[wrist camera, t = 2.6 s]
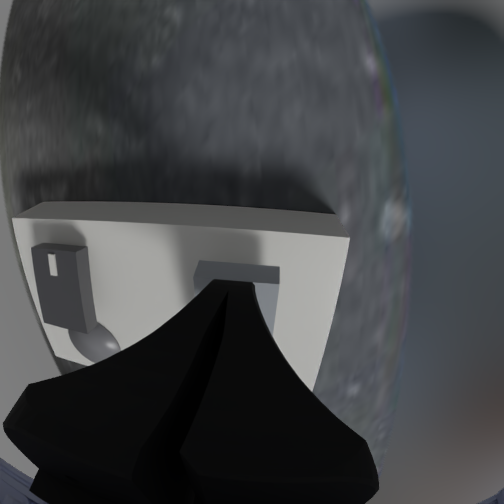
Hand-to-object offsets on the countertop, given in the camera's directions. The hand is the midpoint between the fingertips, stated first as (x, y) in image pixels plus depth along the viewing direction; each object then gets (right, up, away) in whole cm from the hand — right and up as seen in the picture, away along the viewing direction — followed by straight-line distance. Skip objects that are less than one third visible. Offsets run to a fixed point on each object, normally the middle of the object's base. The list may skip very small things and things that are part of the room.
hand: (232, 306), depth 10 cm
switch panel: (-4, 0, +7) cm, 8 cm away
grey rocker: (0, -1, +2) cm, 2 cm away
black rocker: (-8, 0, +2) cm, 9 cm away
